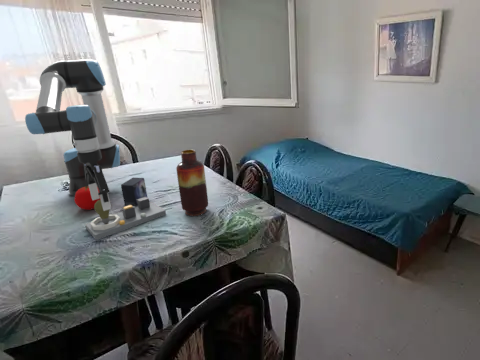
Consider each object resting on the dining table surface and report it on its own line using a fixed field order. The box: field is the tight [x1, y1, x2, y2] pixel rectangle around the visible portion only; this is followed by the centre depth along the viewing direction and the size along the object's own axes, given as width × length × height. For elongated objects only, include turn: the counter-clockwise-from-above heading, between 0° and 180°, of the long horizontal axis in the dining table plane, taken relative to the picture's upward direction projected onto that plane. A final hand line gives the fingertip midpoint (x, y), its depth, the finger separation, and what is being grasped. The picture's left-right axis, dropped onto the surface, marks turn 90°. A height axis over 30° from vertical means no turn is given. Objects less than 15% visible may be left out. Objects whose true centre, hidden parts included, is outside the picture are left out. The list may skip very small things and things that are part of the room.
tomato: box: [73, 186, 101, 210], centre depth 135 cm, size 11×12×10 cm
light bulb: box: [93, 200, 111, 224], centre depth 114 cm, size 6×6×10 cm
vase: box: [175, 149, 209, 217], centre depth 121 cm, size 11×11×26 cm
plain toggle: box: [137, 196, 150, 210], centre depth 127 cm, size 3×4×4 cm
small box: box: [120, 177, 148, 207], centre depth 138 cm, size 11×6×10 cm, turn 168°
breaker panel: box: [84, 201, 167, 241], centre depth 120 cm, size 13×28×4 cm, turn 131°
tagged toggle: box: [121, 205, 136, 219], centre depth 119 cm, size 3×4×4 cm
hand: (101, 204), depth 113 cm, fingers open, 13 cm apart
